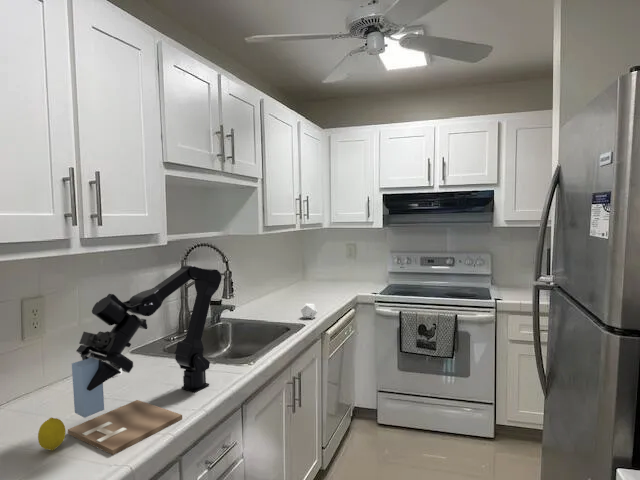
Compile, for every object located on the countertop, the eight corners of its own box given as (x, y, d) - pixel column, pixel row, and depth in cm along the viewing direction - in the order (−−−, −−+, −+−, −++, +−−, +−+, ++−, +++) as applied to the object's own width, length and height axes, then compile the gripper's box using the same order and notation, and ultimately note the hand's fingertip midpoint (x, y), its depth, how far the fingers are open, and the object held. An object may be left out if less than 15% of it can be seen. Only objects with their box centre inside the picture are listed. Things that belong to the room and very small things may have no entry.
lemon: (71, 443, 102) (69, 412, 102) (57, 456, 97) (55, 423, 96) (48, 444, 102) (46, 413, 102) (33, 457, 97) (31, 424, 96)
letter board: (137, 403, 124) (137, 399, 124) (182, 418, 114) (182, 414, 113) (67, 433, 107) (67, 428, 107) (113, 455, 97) (112, 449, 97)
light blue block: (94, 405, 111) (91, 357, 110) (104, 409, 108) (101, 361, 107) (74, 412, 106) (71, 363, 106) (84, 417, 104) (81, 367, 103)
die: (306, 321, 222) (317, 307, 222) (295, 312, 226) (305, 298, 226) (312, 323, 229) (322, 309, 229) (301, 314, 233) (311, 300, 233)
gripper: (81, 315, 114) (39, 366, 106) (119, 322, 104) (76, 380, 95) (110, 335, 121) (73, 386, 113) (149, 345, 111) (111, 401, 102)
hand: (82, 388), depth 106 cm, fingers closed on light blue block, 5 cm apart
